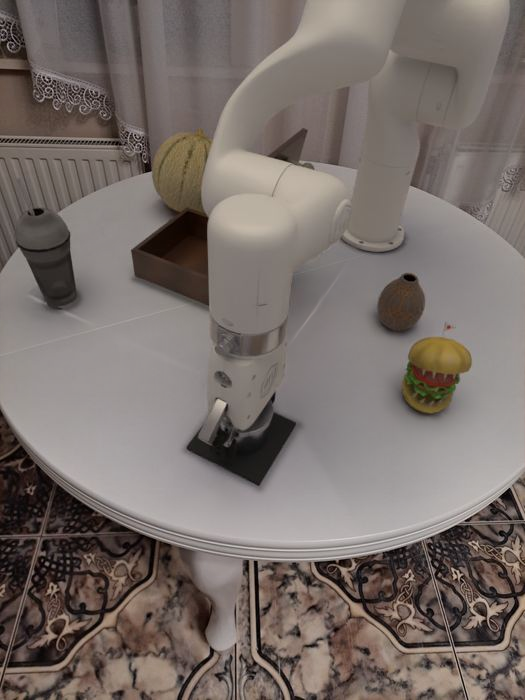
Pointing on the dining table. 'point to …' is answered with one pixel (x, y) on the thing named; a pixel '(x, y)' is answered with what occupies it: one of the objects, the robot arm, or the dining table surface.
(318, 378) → the dining table surface
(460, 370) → the hamburger
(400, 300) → the vase
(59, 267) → the beverage cup
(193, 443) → the mat
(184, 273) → the chest
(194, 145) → the cantaloupe
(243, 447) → the bowl
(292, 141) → the lid
